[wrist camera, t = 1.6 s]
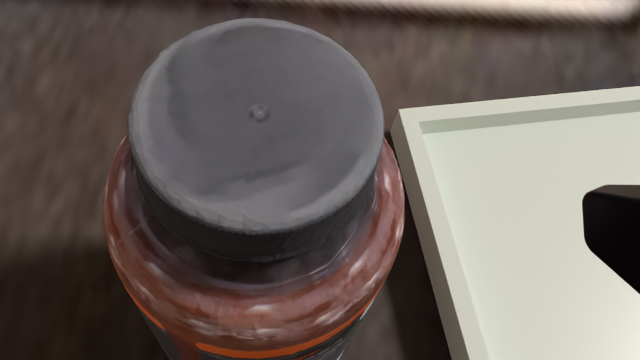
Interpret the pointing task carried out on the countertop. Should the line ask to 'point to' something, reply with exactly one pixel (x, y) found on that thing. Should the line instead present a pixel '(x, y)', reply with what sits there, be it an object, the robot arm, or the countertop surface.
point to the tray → (522, 221)
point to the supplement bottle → (254, 195)
